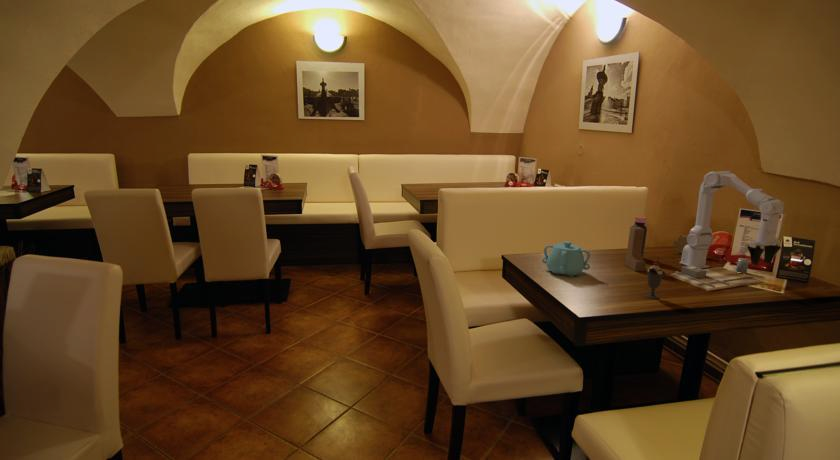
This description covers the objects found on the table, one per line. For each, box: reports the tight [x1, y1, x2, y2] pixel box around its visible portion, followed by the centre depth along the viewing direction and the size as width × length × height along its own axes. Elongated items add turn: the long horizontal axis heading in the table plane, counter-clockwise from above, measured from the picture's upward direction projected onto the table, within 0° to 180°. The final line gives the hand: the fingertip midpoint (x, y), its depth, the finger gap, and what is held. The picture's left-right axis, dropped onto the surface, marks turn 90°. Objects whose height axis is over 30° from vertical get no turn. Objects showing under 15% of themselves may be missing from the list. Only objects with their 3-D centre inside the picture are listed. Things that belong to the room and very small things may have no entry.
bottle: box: [631, 215, 648, 259], centre depth 228 cm, size 7×7×20 cm
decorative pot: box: [541, 240, 591, 278], centre depth 206 cm, size 16×16×14 cm
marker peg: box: [735, 257, 750, 274], centre depth 212 cm, size 4×4×6 cm
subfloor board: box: [670, 266, 761, 292], centre depth 203 cm, size 18×30×2 cm, turn 111°
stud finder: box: [680, 265, 707, 279], centre depth 203 cm, size 7×6×4 cm
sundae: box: [644, 257, 666, 300], centre depth 180 cm, size 7×7×15 cm
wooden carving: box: [671, 234, 710, 254], centre depth 236 cm, size 16×5×10 cm, turn 56°
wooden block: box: [624, 226, 647, 272], centre depth 213 cm, size 9×4×18 cm, turn 5°
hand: (760, 263), depth 193 cm, fingers open, 7 cm apart
